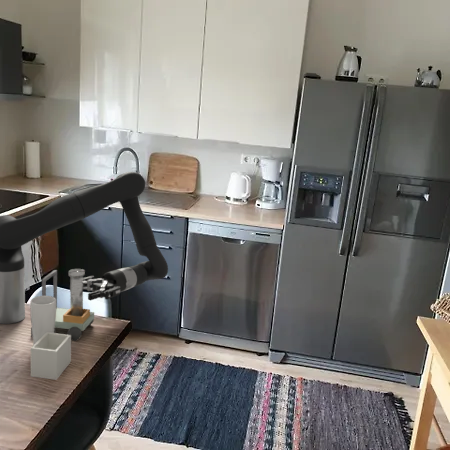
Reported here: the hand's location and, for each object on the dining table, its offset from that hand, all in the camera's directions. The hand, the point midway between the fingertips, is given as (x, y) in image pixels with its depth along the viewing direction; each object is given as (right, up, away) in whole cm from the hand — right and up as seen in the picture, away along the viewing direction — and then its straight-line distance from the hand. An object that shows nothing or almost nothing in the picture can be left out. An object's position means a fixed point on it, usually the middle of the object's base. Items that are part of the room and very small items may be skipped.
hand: (79, 293), depth 141 cm
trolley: (-5, -12, +3) cm, 13 cm away
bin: (-2, -18, -18) cm, 25 cm away
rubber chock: (-12, -13, -1) cm, 18 cm away
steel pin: (-1, -8, +1) cm, 8 cm away
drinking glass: (-8, -15, -8) cm, 19 cm away
